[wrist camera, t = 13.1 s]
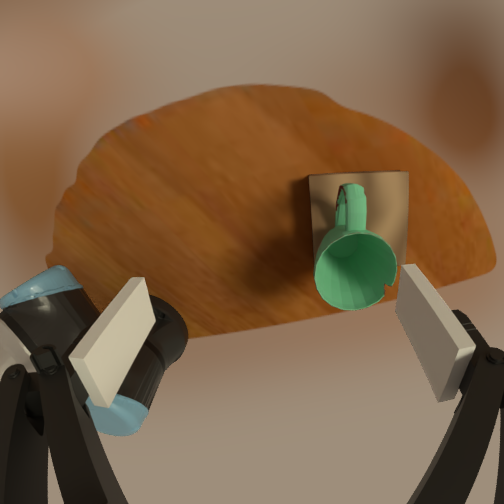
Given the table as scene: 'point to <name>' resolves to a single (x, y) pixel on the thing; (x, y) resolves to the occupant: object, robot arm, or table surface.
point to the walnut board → (377, 202)
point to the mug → (353, 256)
